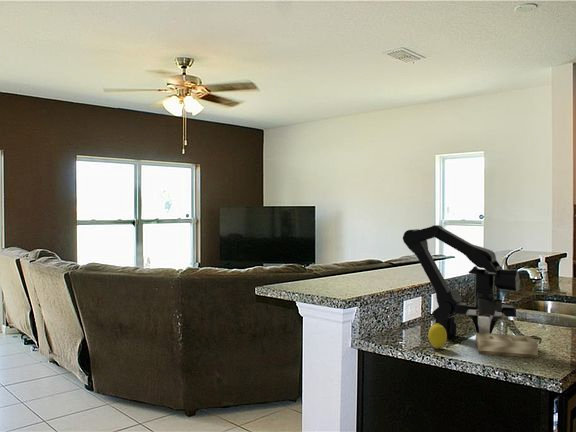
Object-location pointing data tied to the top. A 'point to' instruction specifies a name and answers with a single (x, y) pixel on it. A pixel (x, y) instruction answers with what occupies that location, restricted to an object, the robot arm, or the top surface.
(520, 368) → the top surface
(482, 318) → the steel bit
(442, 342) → the lemon
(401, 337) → the top surface
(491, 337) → the socket block
